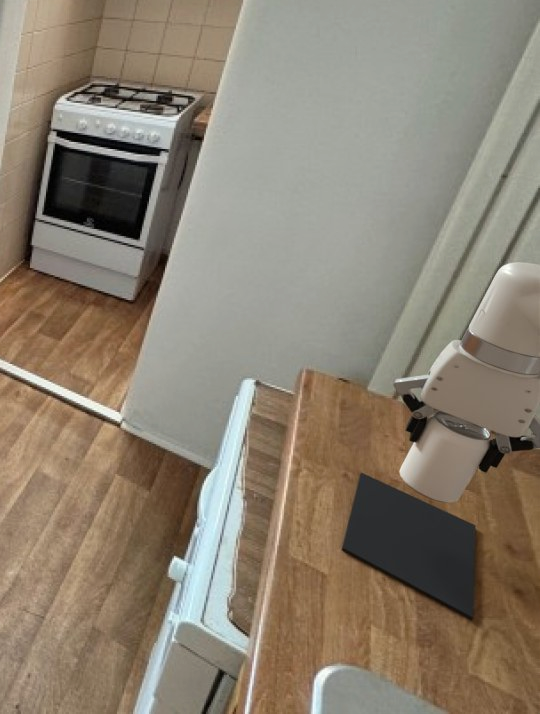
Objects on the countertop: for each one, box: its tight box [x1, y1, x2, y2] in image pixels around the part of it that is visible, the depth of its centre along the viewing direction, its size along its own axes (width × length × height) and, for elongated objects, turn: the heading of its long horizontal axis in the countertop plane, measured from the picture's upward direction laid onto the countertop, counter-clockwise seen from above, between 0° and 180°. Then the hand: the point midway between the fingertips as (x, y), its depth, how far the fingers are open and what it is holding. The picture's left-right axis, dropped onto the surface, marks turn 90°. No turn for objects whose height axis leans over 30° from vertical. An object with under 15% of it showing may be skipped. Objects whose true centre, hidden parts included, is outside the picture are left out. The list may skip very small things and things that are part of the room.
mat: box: [341, 472, 476, 621], centre depth 88 cm, size 13×20×1 cm, turn 132°
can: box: [399, 411, 491, 504], centre depth 88 cm, size 6×6×12 cm
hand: (447, 450), depth 87 cm, fingers closed on can, 6 cm apart
